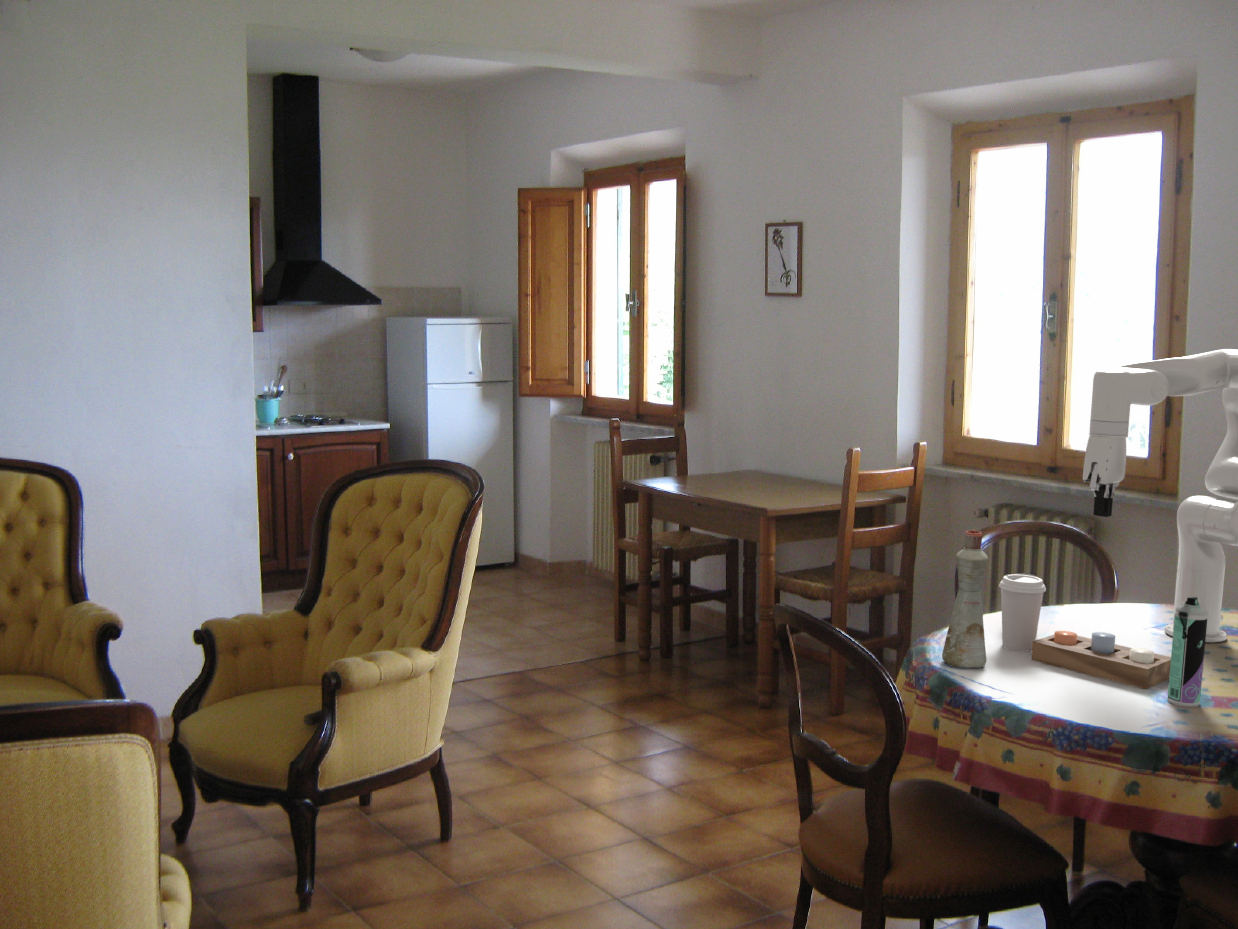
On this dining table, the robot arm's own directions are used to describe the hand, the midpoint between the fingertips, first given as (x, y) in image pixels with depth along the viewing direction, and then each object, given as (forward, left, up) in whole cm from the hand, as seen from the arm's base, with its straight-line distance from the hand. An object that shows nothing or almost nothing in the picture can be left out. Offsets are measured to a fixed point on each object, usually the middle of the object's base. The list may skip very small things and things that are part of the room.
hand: (1102, 515), depth 256 cm
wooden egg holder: (+12, +8, -29) cm, 32 cm away
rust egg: (+12, 0, -28) cm, 31 cm away
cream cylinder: (+12, +16, -28) cm, 35 cm away
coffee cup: (+11, -11, -29) cm, 33 cm away
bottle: (+32, -11, -29) cm, 45 cm away
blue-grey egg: (+12, +8, -27) cm, 31 cm away
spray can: (+20, +28, -29) cm, 45 cm away
